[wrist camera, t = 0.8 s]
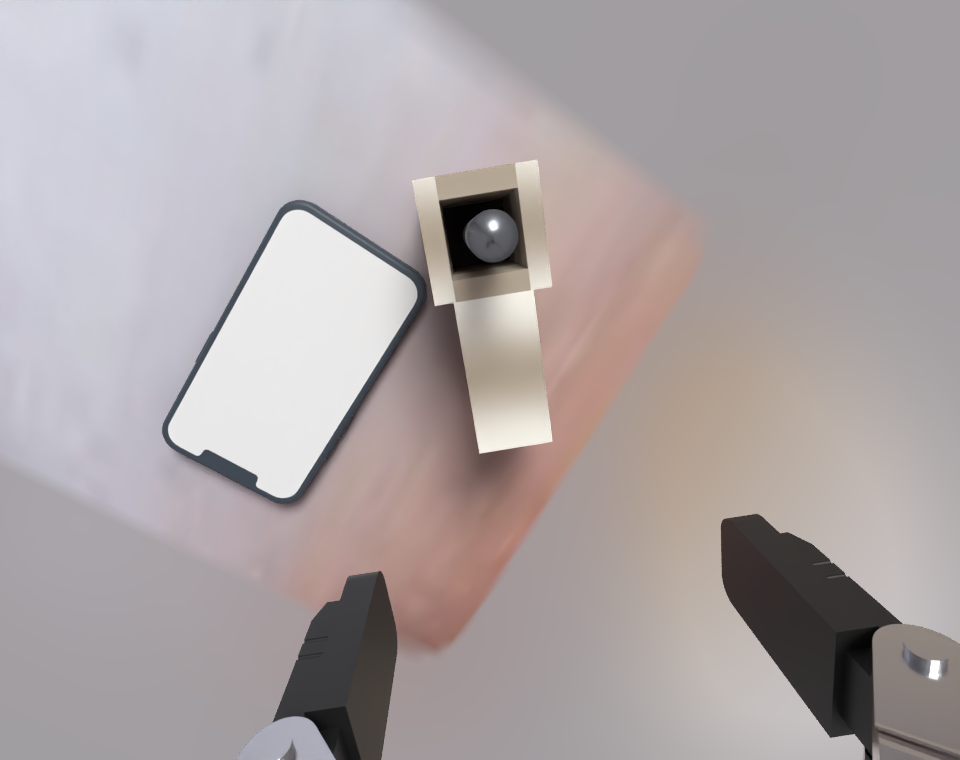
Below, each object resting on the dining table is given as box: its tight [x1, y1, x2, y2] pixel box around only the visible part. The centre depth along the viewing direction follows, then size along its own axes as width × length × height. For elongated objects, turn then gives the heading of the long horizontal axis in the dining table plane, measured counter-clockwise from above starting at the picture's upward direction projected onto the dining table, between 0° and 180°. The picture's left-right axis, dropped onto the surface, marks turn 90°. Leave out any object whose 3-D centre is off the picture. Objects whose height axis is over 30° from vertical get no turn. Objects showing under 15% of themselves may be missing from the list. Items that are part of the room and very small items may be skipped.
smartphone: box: [162, 200, 426, 504], centre depth 29 cm, size 9×2×16 cm
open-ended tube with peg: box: [412, 160, 553, 453], centre depth 25 cm, size 12×5×7 cm, turn 9°
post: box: [463, 209, 518, 262], centre depth 22 cm, size 2×2×12 cm
